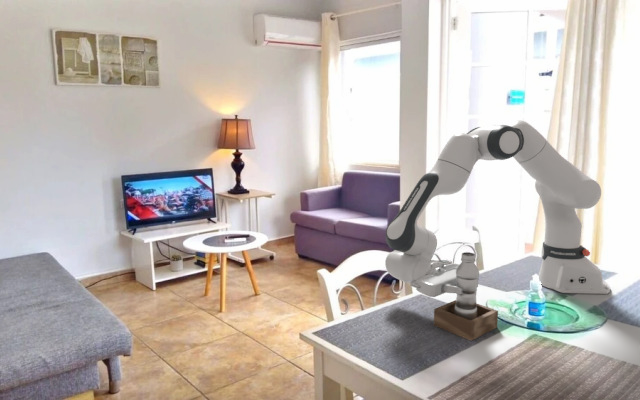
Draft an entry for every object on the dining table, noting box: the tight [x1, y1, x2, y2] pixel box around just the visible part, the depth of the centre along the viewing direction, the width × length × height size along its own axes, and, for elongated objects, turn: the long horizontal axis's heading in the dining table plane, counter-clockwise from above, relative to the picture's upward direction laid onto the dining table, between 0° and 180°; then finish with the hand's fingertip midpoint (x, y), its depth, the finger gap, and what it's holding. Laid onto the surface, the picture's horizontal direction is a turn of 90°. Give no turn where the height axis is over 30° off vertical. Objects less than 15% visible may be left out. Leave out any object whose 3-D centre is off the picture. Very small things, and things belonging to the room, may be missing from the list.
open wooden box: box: [433, 299, 499, 342], centre depth 141 cm, size 12×12×5 cm
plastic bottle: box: [454, 251, 480, 321], centre depth 140 cm, size 6×7×20 cm
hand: (469, 288), depth 139 cm, fingers closed on plastic bottle, 5 cm apart
